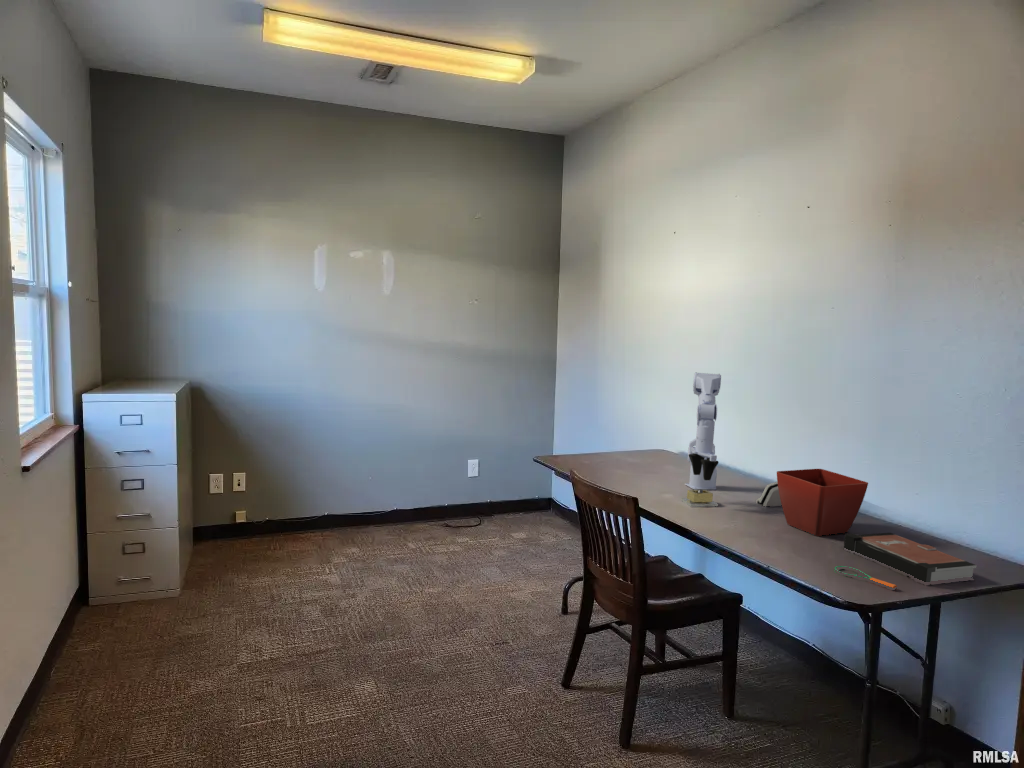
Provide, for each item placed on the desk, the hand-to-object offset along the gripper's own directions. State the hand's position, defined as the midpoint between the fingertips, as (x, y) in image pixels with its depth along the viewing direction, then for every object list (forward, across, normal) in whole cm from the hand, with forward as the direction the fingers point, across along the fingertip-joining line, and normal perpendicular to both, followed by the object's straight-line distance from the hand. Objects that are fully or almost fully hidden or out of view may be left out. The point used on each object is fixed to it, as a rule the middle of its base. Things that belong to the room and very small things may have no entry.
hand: (701, 477), depth 232 cm
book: (+10, +59, +31) cm, 67 cm away
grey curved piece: (+10, +2, +30) cm, 32 cm away
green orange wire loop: (+10, +68, +10) cm, 69 cm away
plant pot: (+10, +29, +25) cm, 39 cm away
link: (+8, 0, 0) cm, 8 cm away
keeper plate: (+9, 0, 0) cm, 9 cm away
